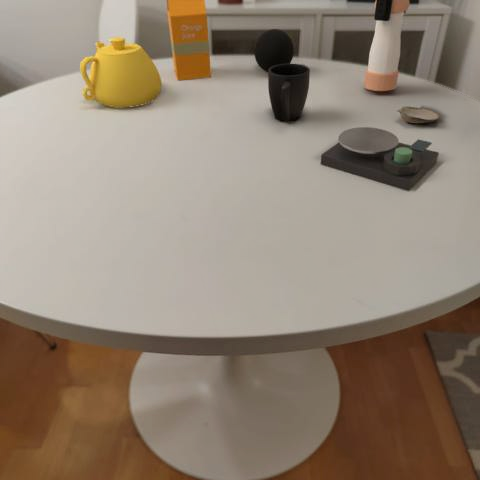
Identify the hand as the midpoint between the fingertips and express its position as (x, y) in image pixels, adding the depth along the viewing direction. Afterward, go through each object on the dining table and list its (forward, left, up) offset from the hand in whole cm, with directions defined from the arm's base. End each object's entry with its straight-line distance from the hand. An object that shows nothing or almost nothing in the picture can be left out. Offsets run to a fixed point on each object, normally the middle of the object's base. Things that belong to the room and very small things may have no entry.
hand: (390, 16), depth 97 cm
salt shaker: (0, 0, -14) cm, 14 cm away
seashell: (-14, +13, -15) cm, 25 cm away
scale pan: (-16, +34, -12) cm, 39 cm away
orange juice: (+46, +15, -15) cm, 50 cm away
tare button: (-21, +37, -12) cm, 44 cm away
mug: (+8, +27, -15) cm, 32 cm away
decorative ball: (+29, +2, -15) cm, 33 cm away
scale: (-16, +34, -15) cm, 41 cm away
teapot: (+49, +37, -15) cm, 63 cm away
